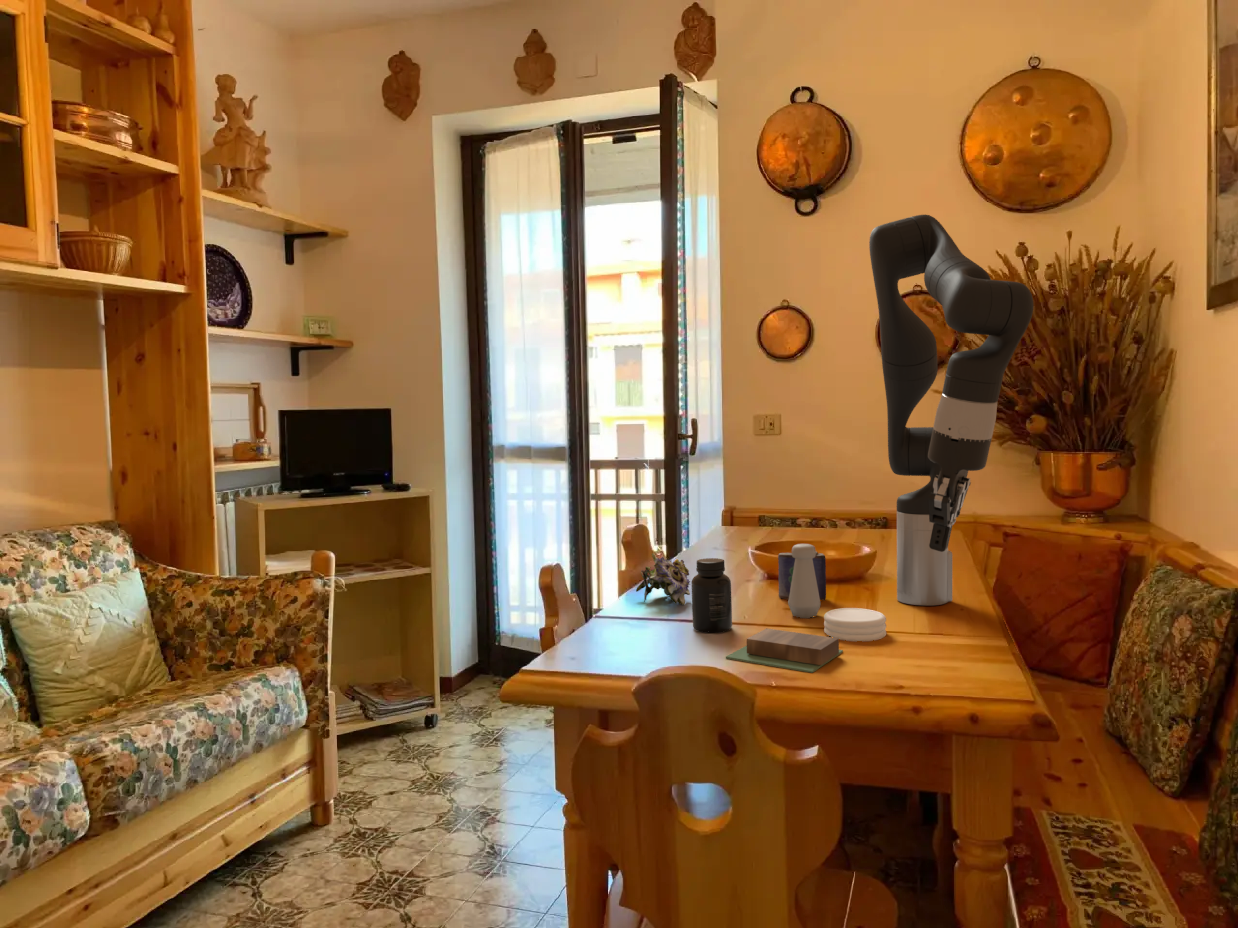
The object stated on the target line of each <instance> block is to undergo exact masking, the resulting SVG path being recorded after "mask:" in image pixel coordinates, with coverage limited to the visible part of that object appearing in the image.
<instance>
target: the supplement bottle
mask: <svg viewBox="0 0 1238 928" xmlns="http://www.w3.org/2000/svg"><path fill="white" fill-rule="evenodd" d="M725 571H726V568H725V560H724V559H723V558H713V557H712V558H711V557H707V558H701V559H700V558H699V559H697V560H696V573H697V574H696V575H695V576H694V577H693V578H692V579H691V614H692V628H693V629H694V630H695V631H697V632H699V633H704V634H705V633H706V634H719V633H725V632H728V631H730V630H731V629H732V627H733V608H732V607H733V606H732V582H731V581H732V580H731V578H730V577H729V576H728V575H727V574H725Z"/></svg>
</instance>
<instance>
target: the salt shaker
mask: <svg viewBox="0 0 1238 928" xmlns="http://www.w3.org/2000/svg"><path fill="white" fill-rule="evenodd" d="M816 552H817V550H816V546H815V545H813V544H810V543H797V544H794V545H793V546H792V548H791V553H792V557H794V558H795V564H794V570H793V576H792V582H791V588H790V595H789V599H787V600H788V601H787V604H788V607H789V609H790V612H791V615H792V616H793V617H795V616H796V617H795V618H798V617H800V618H799V619H811V618H810V617H812V618H814V617H813V616H816V617H817V615H818V613H819V610H820V608H821V601H820V597H819V592H818V586H817V581H816V576H815V570H814V565H813V559H812V558H814V557H815V556H816Z"/></svg>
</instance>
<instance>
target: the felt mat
mask: <svg viewBox="0 0 1238 928" xmlns="http://www.w3.org/2000/svg"><path fill="white" fill-rule="evenodd" d="M843 652H844V650H843V649H839V653H838V654H837V655H835V656H834V657H833V658H831V659H830V660H828V661H827V662H825V663H824V664H822V665H815V664H809V663H802V662H796V661H790V660H784V659H777V658H771V657H765V656H759V655H753V654H748V653H747V645H745V646H743V647H741V648H739V649H737V650H735V651H734V652H731V653H730V654H728V655H726V656H725V659H726V660H727V659H728V660H733V661H739V662H745V663H751V664H759V665H764V666H770V667H774V668H781V669H787V670H793V671H799V672H803V673H804V672H805V673H812V674H813V673H815V672H816V671H817V670H819V669H820V668H822V667H823V666H825V665H826V664H828V663H829V662H831V661H832V660H833V659H835V658H837V657H838V656H840V654H842V653H843Z"/></svg>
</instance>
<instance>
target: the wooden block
mask: <svg viewBox="0 0 1238 928" xmlns="http://www.w3.org/2000/svg"><path fill="white" fill-rule="evenodd" d="M839 644H840V640H839V638H832V637H829V636H823V635H817V634H810V633H802V632H796V631H789V630H782V629H781V630H780V629H773V628H764V629H763V630H761V631H759V632H757V633H754V634H753V635H751V636H749V637H747V638H746V646H747V653H748V654H753V655H759V656H765V657H771V658H777V659H784V660H790V661H796V662H802V663H809V664H815V665H822V664H824V663H825V662H827V661H828V660H830V659H831V658H833V657H834V656H835V655H837V654H838V653H839V650H840V649H839V648H840V646H839ZM833 659H834V658H833Z"/></svg>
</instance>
